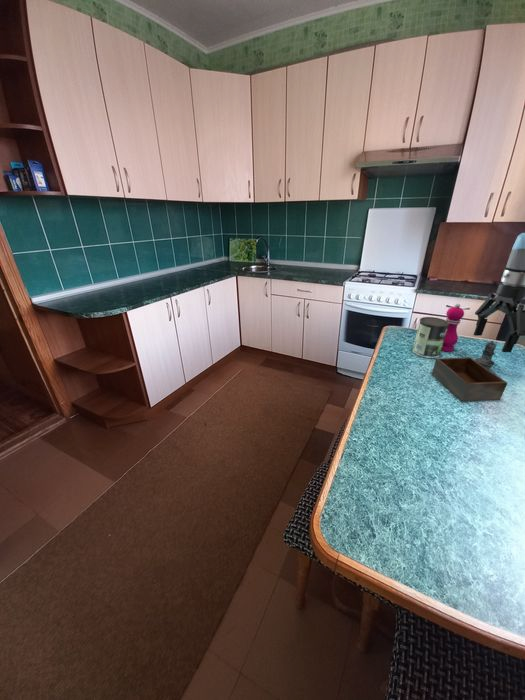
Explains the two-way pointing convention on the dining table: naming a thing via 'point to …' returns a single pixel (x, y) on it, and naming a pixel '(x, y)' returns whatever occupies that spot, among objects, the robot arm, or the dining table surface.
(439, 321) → the coffee can
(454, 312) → the pepper mill
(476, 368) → the holder
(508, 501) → the dining table surface
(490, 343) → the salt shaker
